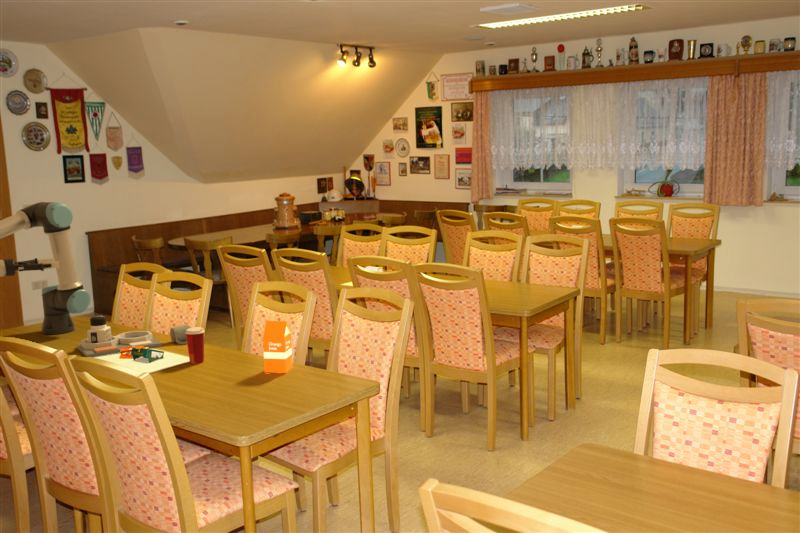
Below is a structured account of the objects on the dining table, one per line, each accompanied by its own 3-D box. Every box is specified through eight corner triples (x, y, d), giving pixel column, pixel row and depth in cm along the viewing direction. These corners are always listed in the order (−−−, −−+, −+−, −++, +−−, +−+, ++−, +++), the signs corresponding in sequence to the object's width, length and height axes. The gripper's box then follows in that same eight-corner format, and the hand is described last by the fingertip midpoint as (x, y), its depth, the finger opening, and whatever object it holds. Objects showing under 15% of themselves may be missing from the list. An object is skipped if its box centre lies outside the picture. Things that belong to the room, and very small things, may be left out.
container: (105, 347, 341) (103, 318, 339) (88, 347, 341) (85, 318, 339) (112, 342, 349) (109, 314, 347) (95, 343, 349) (92, 315, 347)
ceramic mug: (169, 341, 355) (168, 325, 354) (187, 338, 359) (186, 322, 358) (176, 346, 346) (175, 329, 345) (194, 343, 350) (193, 327, 349)
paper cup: (209, 359, 322) (207, 326, 320) (202, 364, 314) (200, 331, 312) (191, 359, 323) (188, 326, 321) (184, 364, 315) (181, 331, 313)
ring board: (77, 347, 348) (76, 339, 347) (148, 337, 365) (148, 328, 364) (87, 358, 329) (86, 348, 329) (162, 346, 346) (161, 337, 346)
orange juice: (286, 374, 298) (283, 323, 295) (264, 373, 300) (261, 323, 297) (292, 368, 306) (290, 319, 303) (271, 367, 307) (269, 318, 304)
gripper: (1, 272, 349) (52, 267, 361) (8, 280, 329) (62, 274, 340) (-1, 256, 348) (50, 251, 359) (6, 262, 327) (60, 257, 339)
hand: (56, 262), depth 350 cm, fingers open, 13 cm apart
